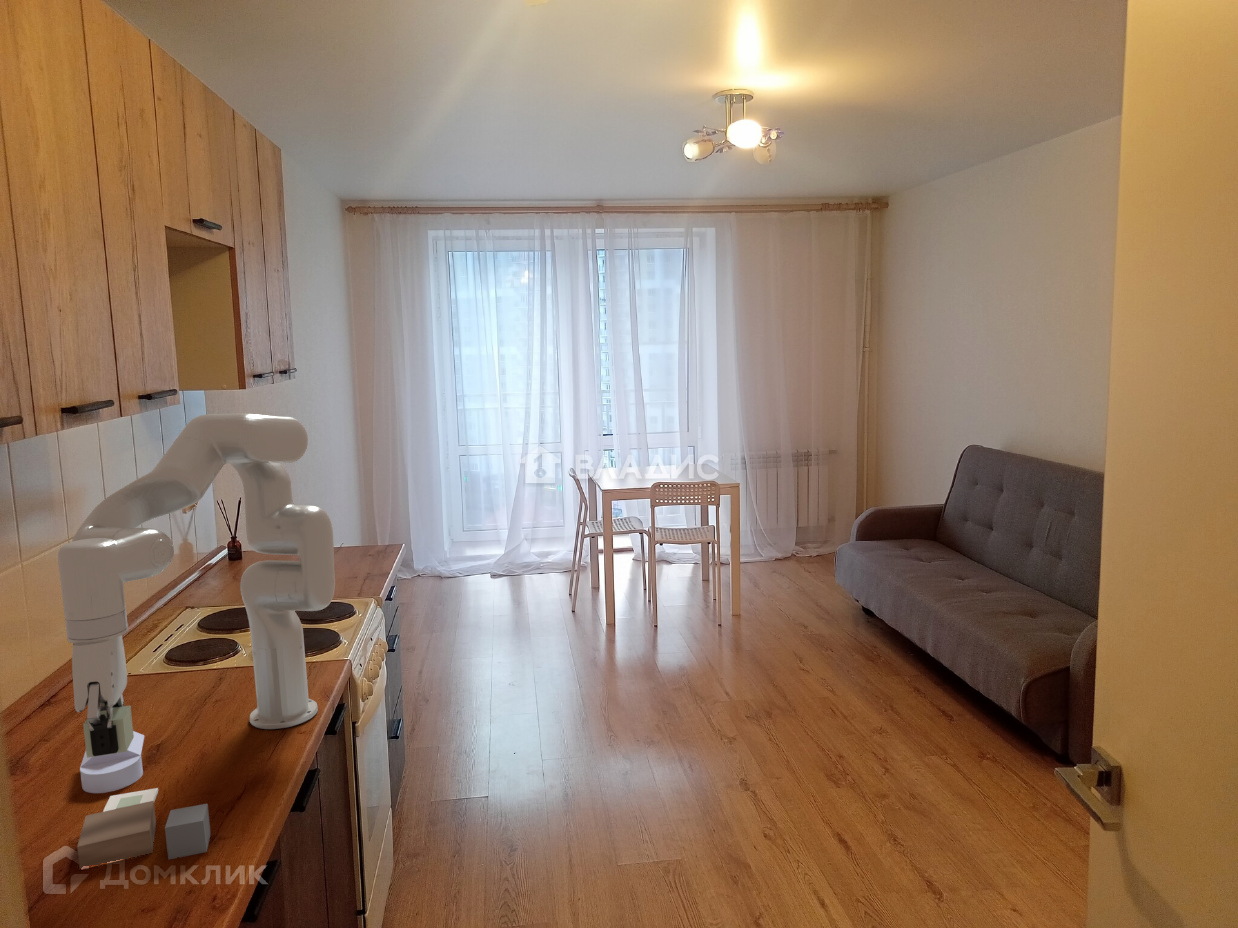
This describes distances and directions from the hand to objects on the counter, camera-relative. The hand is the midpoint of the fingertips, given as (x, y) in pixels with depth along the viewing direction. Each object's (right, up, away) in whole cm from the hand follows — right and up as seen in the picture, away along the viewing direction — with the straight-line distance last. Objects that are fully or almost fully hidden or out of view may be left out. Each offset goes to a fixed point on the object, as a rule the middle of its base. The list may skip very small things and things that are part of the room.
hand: (110, 743), depth 125 cm
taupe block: (0, -16, +2) cm, 16 cm away
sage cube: (0, -1, 0) cm, 1 cm away
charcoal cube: (+11, -16, +1) cm, 19 cm away
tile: (-4, -14, +13) cm, 20 cm away
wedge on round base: (-13, -13, +24) cm, 30 cm away
